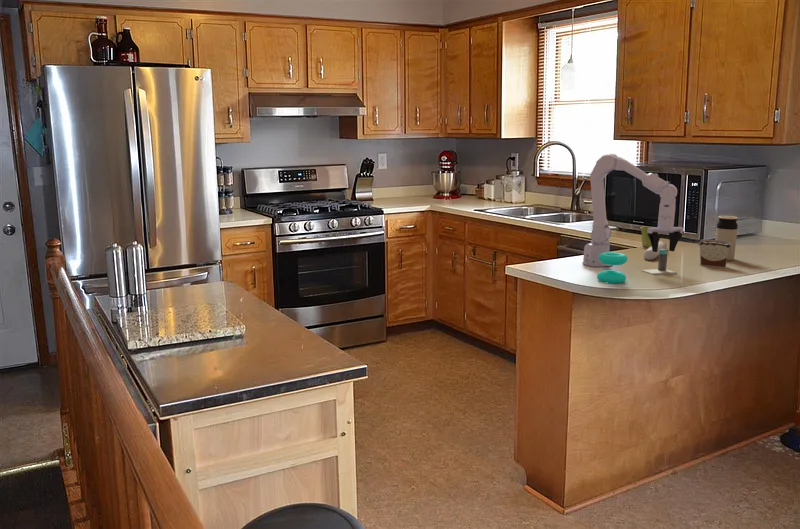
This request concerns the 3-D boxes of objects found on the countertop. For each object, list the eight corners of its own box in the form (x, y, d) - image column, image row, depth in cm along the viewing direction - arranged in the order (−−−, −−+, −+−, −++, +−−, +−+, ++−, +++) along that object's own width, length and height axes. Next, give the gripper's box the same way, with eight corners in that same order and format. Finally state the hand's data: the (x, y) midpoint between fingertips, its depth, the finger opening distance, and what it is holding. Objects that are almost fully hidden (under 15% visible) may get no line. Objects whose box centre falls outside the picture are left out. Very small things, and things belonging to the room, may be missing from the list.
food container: (731, 265, 290) (733, 241, 288) (729, 268, 284) (732, 243, 282) (698, 262, 296) (701, 238, 294) (696, 264, 290) (698, 240, 288)
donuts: (600, 250, 263) (628, 252, 259) (598, 277, 265) (626, 279, 261) (597, 255, 253) (626, 257, 250) (595, 282, 255) (624, 285, 252)
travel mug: (735, 261, 299) (739, 218, 296) (714, 259, 302) (718, 217, 298) (732, 257, 307) (737, 216, 303) (712, 256, 309) (716, 215, 306)
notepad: (654, 275, 269) (654, 273, 269) (641, 270, 277) (642, 269, 277) (677, 273, 272) (677, 272, 272) (664, 269, 280) (664, 268, 280)
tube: (657, 252, 296) (668, 243, 317) (645, 247, 298) (657, 238, 320) (652, 263, 298) (663, 254, 319) (640, 258, 300) (652, 249, 321)
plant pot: (657, 245, 337) (659, 226, 335) (662, 248, 328) (663, 229, 326) (637, 244, 338) (638, 226, 337) (640, 247, 329) (642, 229, 327)
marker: (660, 271, 275) (662, 250, 273) (655, 269, 278) (657, 249, 276) (668, 270, 276) (669, 250, 274) (662, 269, 279) (664, 248, 277)
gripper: (656, 218, 267) (653, 253, 270) (689, 217, 271) (686, 252, 274) (645, 215, 274) (642, 250, 276) (677, 214, 278) (674, 249, 280)
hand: (663, 251), depth 276 cm, fingers open, 7 cm apart
